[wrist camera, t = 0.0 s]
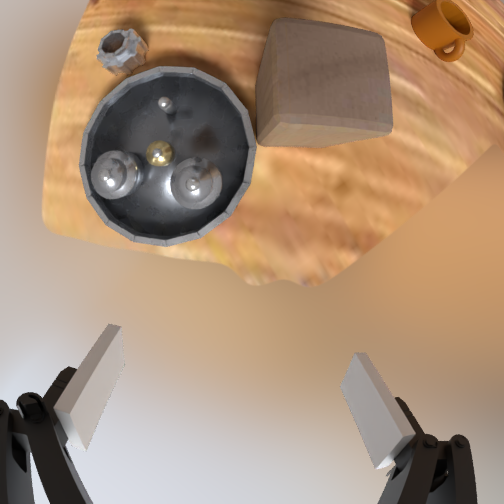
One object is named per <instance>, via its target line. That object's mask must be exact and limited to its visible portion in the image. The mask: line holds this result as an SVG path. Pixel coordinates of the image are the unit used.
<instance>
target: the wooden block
mask: <svg viewBox="0 0 504 504" xmlns="http://www.w3.org/2000/svg"><path fill="white" fill-rule="evenodd" d="M255 89H256V140H257V142H258V144H259V145H261V146H264V147H307V148H324V147H328V146H333V145H338V144H343V143H349V142H354V141H360V140H365V139H371V138H377V137H383V136H386V135H389V134H390V133H391V131H392V128H393V113H392V99H391V87H390V78H389V69H388V62H387V55H386V48H385V42H384V40H383V38H382V36H381V35H379V34H377V33H375V32H371V31H367V30H363V29H358V28H354V27H349V26H344V25H339V24H333V23H327V22H320V21H313V20H305V19H296V18H279V19H276V20H274V21H273V23H272V25H271V27H270V30H269V34H268V38H267V42H266V46H265V49H264V53H263V57H262V61H261V65H260V69H259V73H258V77H257V81H256V85H255Z"/></svg>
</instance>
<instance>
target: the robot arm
mask: <svg viewBox="0 0 504 504" xmlns="http://www.w3.org/2000/svg"><path fill="white" fill-rule="evenodd" d="M124 366H125V361H124V352H123V340H122V327H121V326H117V325H112V324H108V326H107V327H106V328H105V330H104V331H103V333H102V334H101V336H100V337H99V338H98V340H97V341H96V343H95V344H94V346H93V347H92V349H91V350H90V351H89V353H88V355H87V356H86V358H85V359H84V361H83V362H82V363H81V365H80V366H79V368H78V369H75V368H72V367H67V368H66V369H64V370H63V371H61V372H60V373H59V375H58V376H57V378H56V380H55V381H54V382H53V383H52V385H51V386H50V388H49V389H48V391H47V392H46V394H45V395H44V397H43V398H42V397H41V396H40V395H38V394H36V393H33V392H28V393H24V394H22V395H21V396H20V397H19V398H18V399H17V403H16V406H17V408H18V410H14V409H9V407H8V405H7V403H6V402H4V401H3V400H0V504H35V502H34V495H33V487H32V478H31V464H30V452H32V456H33V459H34V462H35V465H36V468H37V471H38V474H39V477H40V479H41V482H42V485H43V487H44V490H45V493H46V495H47V497H48V500H49V502H50V504H93V502H92V501H91V499H90V497H89V495H88V493H87V491H86V489H85V487H84V485H83V483H82V481H81V479H80V477H79V475H78V473H77V471H76V469H75V467H74V464H73V462H72V460H71V457H70V455H69V452H68V450H67V448H66V446H65V444H66V442H67V440H69V442H70V444H71V445H72V446H74V447H76V448H79V449H81V450H84V451H86V450H87V448H88V446H89V444H90V441H91V439H92V436H93V434H94V432H95V429H96V427H97V425H98V422H99V420H100V418H101V415H102V413H103V411H104V409H105V406H106V404H107V402H108V400H109V398H110V395H111V393H112V391H113V389H114V387H115V385H116V382H117V380H118V378H119V376H120V374H121V372H122V370H123V368H124ZM340 388H341V390H342V392H343V395H344V397H345V399H346V402H347V404H348V406H349V408H350V411H351V413H352V415H353V418H354V420H355V422H356V425H357V427H358V429H359V432H360V434H361V436H362V438H363V441H364V443H365V446H366V448H367V451H368V453H369V455H370V458H371V460H372V462H373V465H374V467H375V469H379V468H383V467H387V466H389V465H390V463H391V462H392V461H393V460H394V461H395V463H396V465H395V466H394V467H393V468H392V469H391V470H390V471H389V472H388V473H387V475H386V476H388V475H389V474H390V473H391V474H390V477H389V479H388V482H387V484H386V487H385V489H384V491H383V493H382V496H381V497H380V500H379V502H378V504H477V492H476V482H475V474H474V467H473V460H472V454H471V449H470V444H469V441H468V439H467V438H466V437H464V436H462V435H459V434H458V435H454V436H453V437H452V438H451V439H450V440H449V441H438V439H437V438H436V437H434V436H433V435H430V434H425V433H424V432H423V430H422V428H421V427H420V425H419V424H418V422H417V421H416V419H415V417H414V416H413V414H412V412H411V411H409V408H408V406H407V405H406V403H405V402H404V401H403V400H402V399H400V398H399V397H395V398H394V396H393V395H392V393H391V392H390V390H389V388H388V387H387V385H386V384H385V382H384V381H383V379H382V377H381V376H380V374H379V373H378V371H377V369H376V368H375V366H374V365H373V363H372V361H371V360H370V358H369V357H368V355H367V354H366V353H355V354H354V356H353V359H352V361H351V363H350V366H349V368H348V370H347V372H346V375H345V377H344V379H343V381H342V383H341V386H340ZM447 471H448V473H447Z"/></svg>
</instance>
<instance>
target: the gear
mask: <svg viewBox="0 0 504 504" xmlns="http://www.w3.org/2000/svg"><path fill="white" fill-rule="evenodd" d="M98 51H99V52H100V53H99V54H98V55H97V60H98V61H100V62H101V63H102V64H104V65H103V66H102V67H103V68H105V69H106V70H108V71H109V72H110V73H112V74H114V75H116V76H117V75H118V73H125V74H126V75H130V74H132V73H133V72H132V71H133V70H134V69H135V68H137V67H138V66H139V65H142V66H143V64H144V63H145V61H146V60H145V59H144V57H145V53H146V52H147V51H149V50H148V46H147V45H146V43H145V42H144V41H143V39H142V38H141V37H140V36H139V35H138V34H137V32H136V31H135V30H134V29H131V28H130V29H129V30H128V31H124V30H114V31H111V32H109V33H108V34H107V35H106V36H105V37H103V38H102V39H101V42H100V45H99V48H98Z"/></svg>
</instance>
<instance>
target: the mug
mask: <svg viewBox="0 0 504 504" xmlns="http://www.w3.org/2000/svg"><path fill="white" fill-rule="evenodd" d="M411 24H412V27H413V30H414V32H415V34H416V35H417V37H418V38H419V39H420V40H421V41H422V42H423V43H424V44H425V45H426V46H427V47H429V48H430V49H432V50H434V51H435V53H436V55H437V56H438V57H439V58H440V59H441V60H443V61H446V62H453V61H456V60H458V59H459V58H460V57H461V56H462V54H463V52H464V50H465V41H467V40H470V39H471V38H473V35H474V33H473V27H472V24H471V22H470V20H469V19H468V17H467V15H466V14H465V13H464V12H463V10H462V9H461V8H460V7H459V6H458V5H456V4H455V3H454V2H452V1H451V0H435V1H433V2H432V3H431V4H429V5H428V6H426V7H425V8H423V9H422V10H420V11H419V12H418V13H416V14H415V15H413V17H412V19H411ZM453 46H455V47H454V49H453V51H452V52H450V53H445V52H444V50H446V49H448V48H451V47H453Z"/></svg>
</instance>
